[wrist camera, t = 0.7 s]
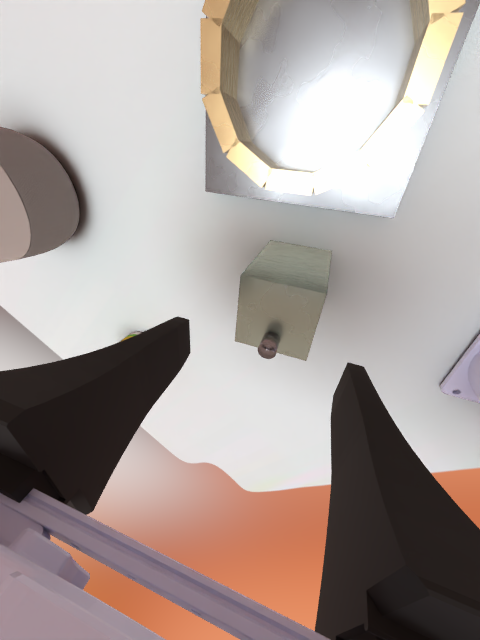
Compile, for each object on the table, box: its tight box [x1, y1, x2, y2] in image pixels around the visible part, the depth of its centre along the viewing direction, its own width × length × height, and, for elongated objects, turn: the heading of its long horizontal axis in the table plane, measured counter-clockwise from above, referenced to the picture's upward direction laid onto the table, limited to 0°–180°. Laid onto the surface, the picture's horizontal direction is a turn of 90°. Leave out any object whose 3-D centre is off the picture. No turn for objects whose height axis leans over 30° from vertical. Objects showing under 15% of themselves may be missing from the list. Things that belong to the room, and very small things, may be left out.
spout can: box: [235, 240, 332, 361], centre depth 16 cm, size 4×4×8 cm
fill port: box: [201, 0, 480, 218], centre depth 12 cm, size 12×12×4 cm
